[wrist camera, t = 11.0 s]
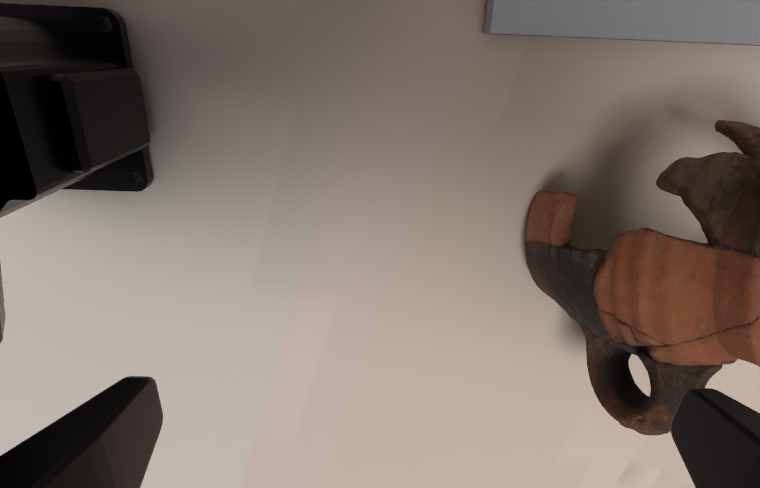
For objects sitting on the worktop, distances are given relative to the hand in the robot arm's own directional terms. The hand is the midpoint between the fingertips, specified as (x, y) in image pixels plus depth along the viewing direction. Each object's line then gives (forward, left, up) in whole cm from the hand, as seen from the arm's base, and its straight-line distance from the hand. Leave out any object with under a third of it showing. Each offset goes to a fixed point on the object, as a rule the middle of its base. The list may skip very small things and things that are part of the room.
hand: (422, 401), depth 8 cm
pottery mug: (+11, -2, -12) cm, 16 cm away
